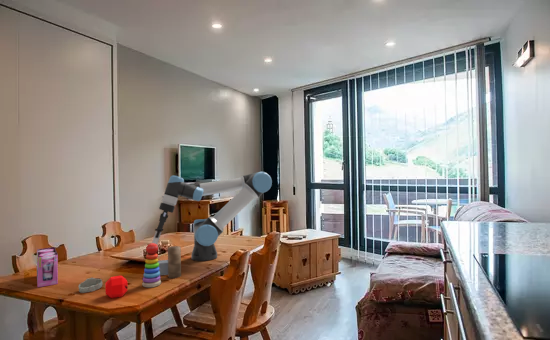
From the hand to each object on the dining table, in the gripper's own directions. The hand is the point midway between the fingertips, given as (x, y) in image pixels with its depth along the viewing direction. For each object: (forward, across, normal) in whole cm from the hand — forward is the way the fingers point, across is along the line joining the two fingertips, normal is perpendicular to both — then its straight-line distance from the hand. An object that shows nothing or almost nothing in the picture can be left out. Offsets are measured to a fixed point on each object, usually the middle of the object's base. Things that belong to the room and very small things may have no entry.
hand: (154, 243), depth 169 cm
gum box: (+29, -5, -42) cm, 51 cm away
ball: (+21, +32, -7) cm, 39 cm away
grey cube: (+13, +6, +8) cm, 17 cm away
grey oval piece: (+24, +19, -19) cm, 36 cm away
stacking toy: (+16, +23, +5) cm, 29 cm away
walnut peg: (+12, +14, +14) cm, 23 cm away
